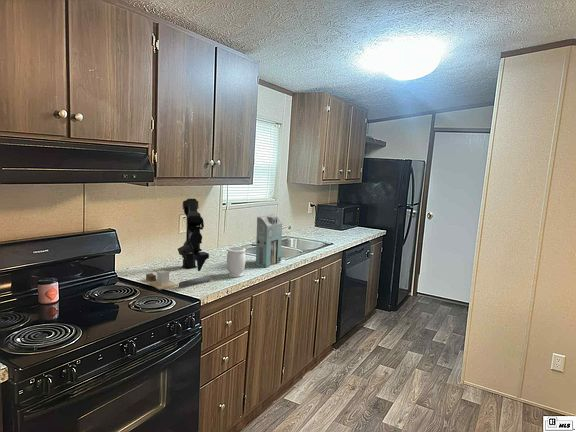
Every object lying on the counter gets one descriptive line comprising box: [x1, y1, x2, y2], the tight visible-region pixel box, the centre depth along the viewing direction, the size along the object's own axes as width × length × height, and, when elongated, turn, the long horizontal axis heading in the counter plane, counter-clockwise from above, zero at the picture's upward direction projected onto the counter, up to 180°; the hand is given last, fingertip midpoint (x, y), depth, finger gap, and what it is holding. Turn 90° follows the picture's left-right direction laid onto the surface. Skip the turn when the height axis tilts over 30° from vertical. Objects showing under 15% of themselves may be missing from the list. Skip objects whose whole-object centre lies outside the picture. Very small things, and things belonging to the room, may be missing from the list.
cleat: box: [145, 272, 157, 282], centre depth 208 cm, size 3×5×3 cm, turn 44°
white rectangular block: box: [156, 270, 170, 285], centre depth 202 cm, size 4×5×6 cm
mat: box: [147, 279, 179, 291], centre depth 202 cm, size 10×12×1 cm
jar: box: [226, 246, 247, 278], centre depth 222 cm, size 11×10×15 cm
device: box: [255, 213, 283, 269], centre depth 246 cm, size 16×8×30 cm, turn 148°
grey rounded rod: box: [178, 275, 211, 289], centre depth 205 cm, size 18×3×3 cm, turn 135°
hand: (194, 268), depth 206 cm, fingers open, 9 cm apart
